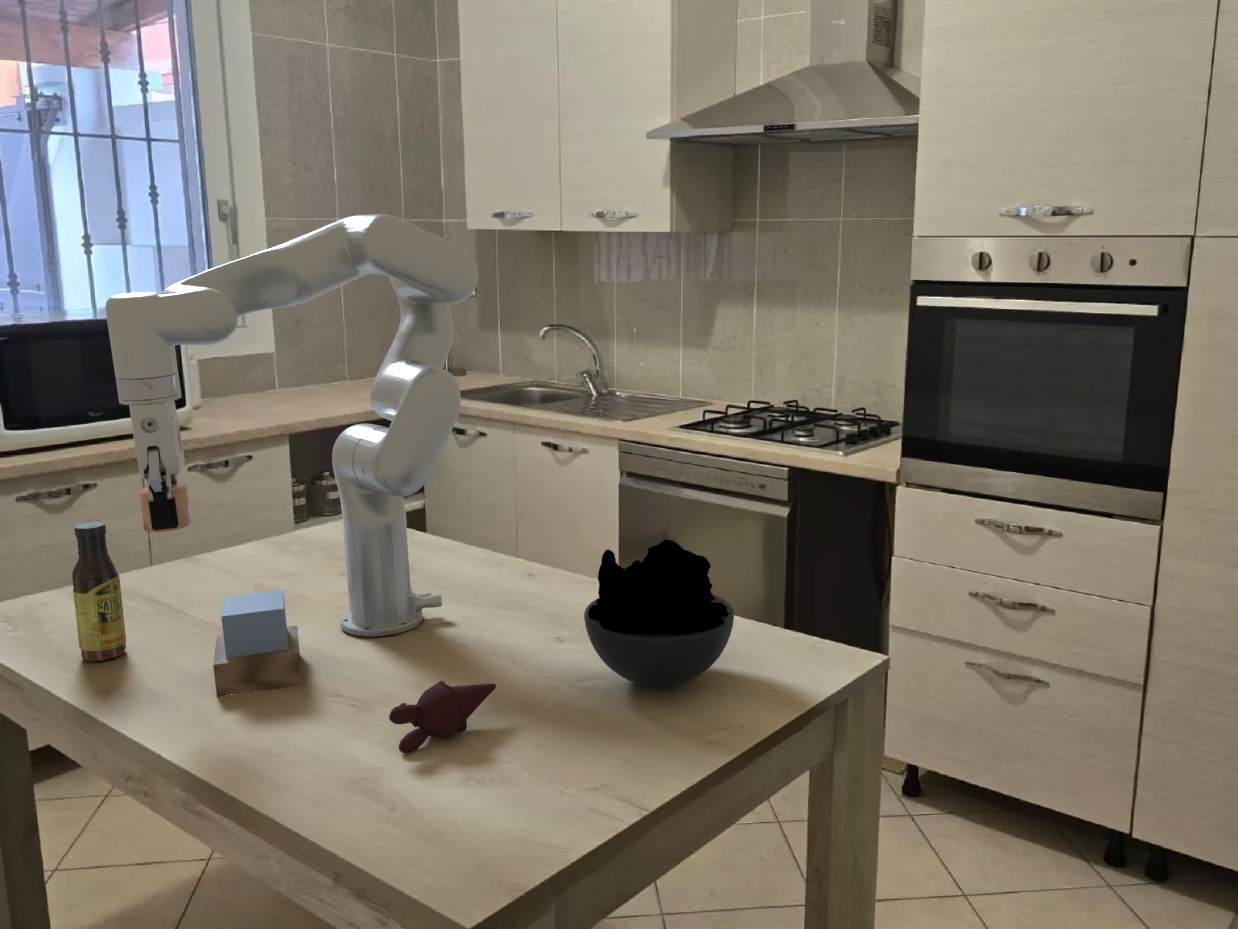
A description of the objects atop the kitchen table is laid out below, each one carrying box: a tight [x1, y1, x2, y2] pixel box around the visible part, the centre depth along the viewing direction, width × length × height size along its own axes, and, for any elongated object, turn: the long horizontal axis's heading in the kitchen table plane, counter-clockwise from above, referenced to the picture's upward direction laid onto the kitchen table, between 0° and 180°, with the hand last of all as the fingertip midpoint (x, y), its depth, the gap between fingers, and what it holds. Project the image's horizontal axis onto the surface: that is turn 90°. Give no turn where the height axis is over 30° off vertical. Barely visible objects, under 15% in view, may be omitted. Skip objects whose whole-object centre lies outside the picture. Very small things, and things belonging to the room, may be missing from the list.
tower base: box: [212, 625, 303, 698], centre depth 151 cm, size 11×11×5 cm
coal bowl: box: [583, 539, 735, 688], centre depth 145 cm, size 20×20×19 cm
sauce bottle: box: [71, 521, 127, 663], centre depth 157 cm, size 7×6×20 cm
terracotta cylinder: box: [137, 482, 193, 533], centre depth 144 cm, size 6×6×5 cm
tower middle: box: [221, 589, 288, 658], centre depth 150 cm, size 8×8×6 cm
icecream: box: [388, 680, 497, 754], centre depth 132 cm, size 7×7×15 cm
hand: (167, 520), depth 145 cm, fingers closed on terracotta cylinder, 6 cm apart
